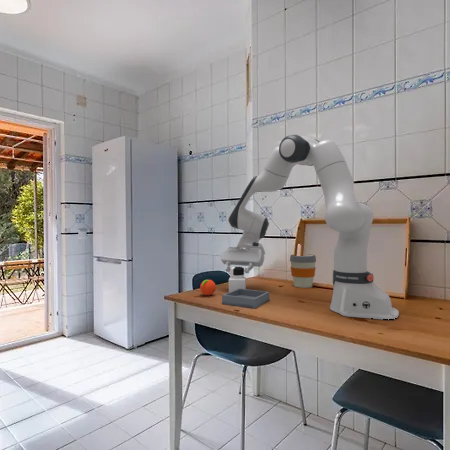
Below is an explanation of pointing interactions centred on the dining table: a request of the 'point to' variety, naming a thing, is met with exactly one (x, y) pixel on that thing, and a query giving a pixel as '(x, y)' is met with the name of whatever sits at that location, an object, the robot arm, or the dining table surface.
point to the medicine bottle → (237, 279)
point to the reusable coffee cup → (303, 270)
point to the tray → (245, 298)
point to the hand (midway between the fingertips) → (236, 271)
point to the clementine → (207, 287)
